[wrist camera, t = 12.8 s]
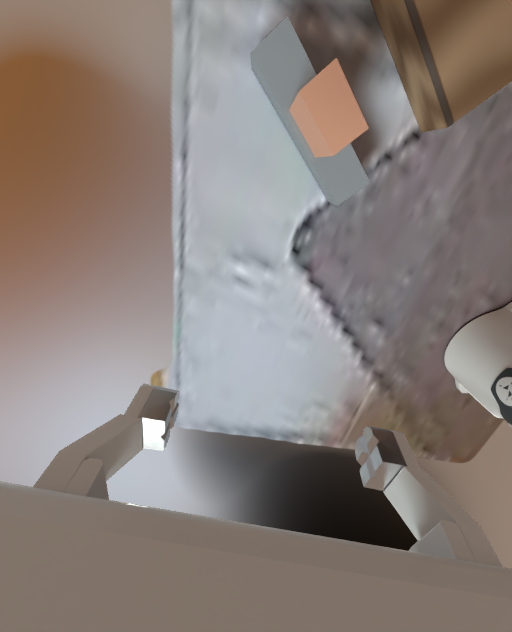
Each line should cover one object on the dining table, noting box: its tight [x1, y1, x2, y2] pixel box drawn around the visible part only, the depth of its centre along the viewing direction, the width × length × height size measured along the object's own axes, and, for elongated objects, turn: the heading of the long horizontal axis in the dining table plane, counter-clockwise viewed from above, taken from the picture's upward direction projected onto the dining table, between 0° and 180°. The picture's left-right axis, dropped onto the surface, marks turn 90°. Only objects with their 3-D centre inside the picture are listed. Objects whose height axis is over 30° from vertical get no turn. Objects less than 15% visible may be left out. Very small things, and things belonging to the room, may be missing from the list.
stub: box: [250, 16, 370, 206], centre depth 26 cm, size 16×4×13 cm, turn 37°
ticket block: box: [370, 0, 512, 132], centre depth 25 cm, size 16×9×5 cm, turn 37°
